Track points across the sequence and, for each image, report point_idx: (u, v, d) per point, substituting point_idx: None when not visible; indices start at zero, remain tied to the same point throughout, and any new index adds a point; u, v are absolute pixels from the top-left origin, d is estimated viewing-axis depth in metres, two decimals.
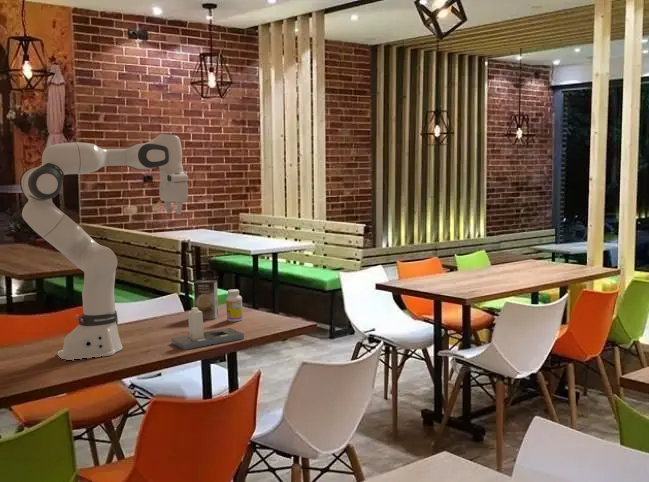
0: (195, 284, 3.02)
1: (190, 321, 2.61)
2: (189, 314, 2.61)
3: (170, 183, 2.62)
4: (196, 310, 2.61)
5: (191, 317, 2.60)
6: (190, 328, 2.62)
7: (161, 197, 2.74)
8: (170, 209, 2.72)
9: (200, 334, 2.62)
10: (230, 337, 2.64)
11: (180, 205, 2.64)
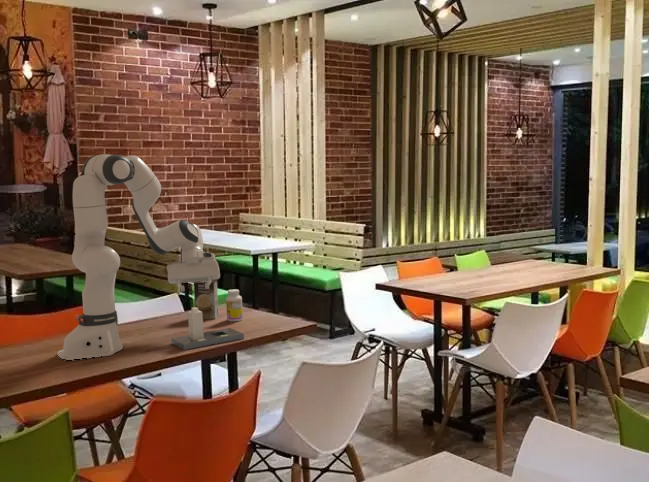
0: (195, 284, 3.02)
1: (190, 321, 2.61)
2: (189, 314, 2.61)
3: (206, 259, 2.78)
4: (196, 310, 2.61)
5: (191, 317, 2.60)
6: (190, 328, 2.62)
7: (174, 276, 2.74)
8: (184, 288, 2.74)
9: (200, 334, 2.62)
10: (230, 337, 2.64)
11: (211, 281, 2.76)
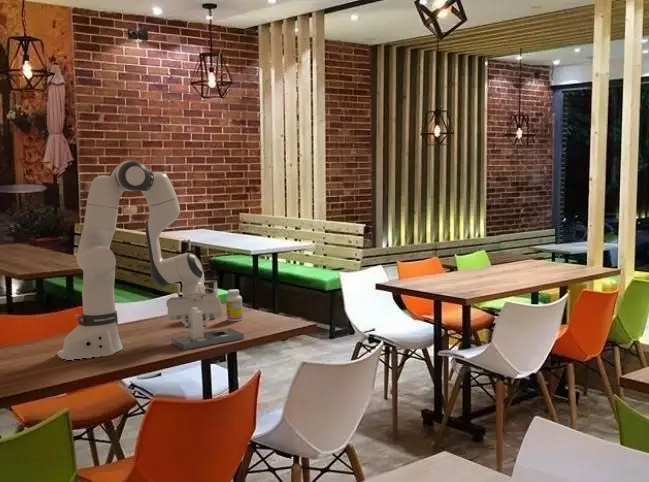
0: None
1: (190, 321, 2.61)
2: (189, 314, 2.61)
3: (208, 295, 2.68)
4: (196, 310, 2.61)
5: (191, 317, 2.60)
6: (190, 328, 2.62)
7: (174, 312, 2.63)
8: (188, 324, 2.62)
9: (200, 334, 2.62)
10: (230, 337, 2.64)
11: (208, 318, 2.65)
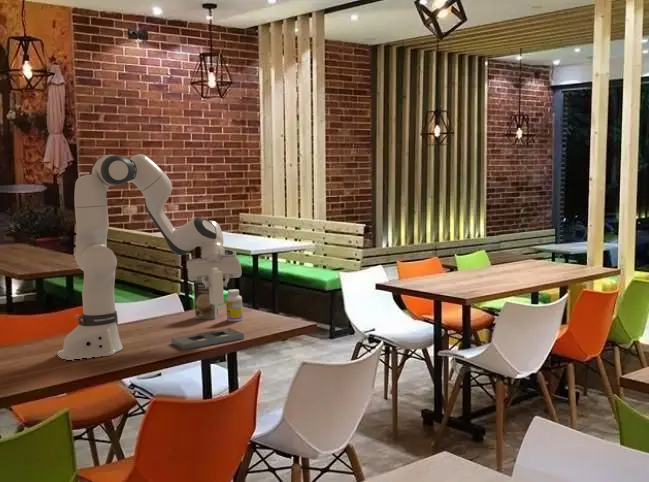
0: (195, 284, 3.02)
1: (210, 281, 2.64)
2: (209, 274, 2.65)
3: (227, 257, 2.71)
4: (216, 270, 2.64)
5: (211, 277, 2.63)
6: (210, 288, 2.65)
7: (194, 272, 2.66)
8: (208, 284, 2.65)
9: (220, 294, 2.65)
10: (230, 337, 2.64)
11: (228, 279, 2.68)
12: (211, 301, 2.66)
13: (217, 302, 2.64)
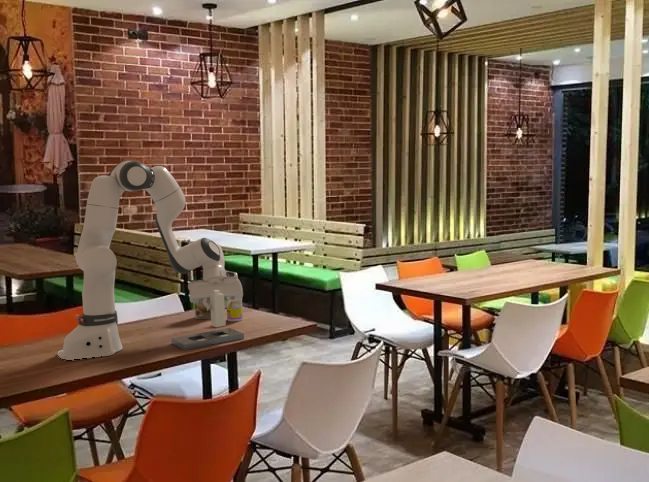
0: None
1: (212, 303, 2.65)
2: (211, 297, 2.66)
3: (229, 279, 2.72)
4: (218, 293, 2.65)
5: (213, 299, 2.64)
6: (212, 310, 2.66)
7: (196, 295, 2.67)
8: None
9: (222, 316, 2.66)
10: (230, 337, 2.64)
11: (230, 301, 2.69)
12: (213, 323, 2.67)
13: (219, 324, 2.65)
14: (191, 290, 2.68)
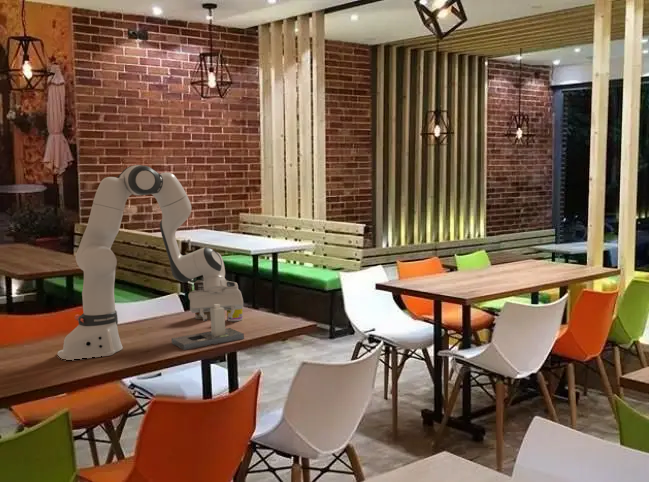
0: (195, 284, 3.02)
1: (212, 317, 2.66)
2: (211, 310, 2.66)
3: (229, 289, 2.72)
4: (218, 306, 2.66)
5: (213, 313, 2.65)
6: (212, 324, 2.67)
7: (196, 304, 2.67)
8: (206, 317, 2.67)
9: (222, 330, 2.66)
10: (230, 337, 2.64)
11: None
12: None
13: None
14: (191, 300, 2.68)
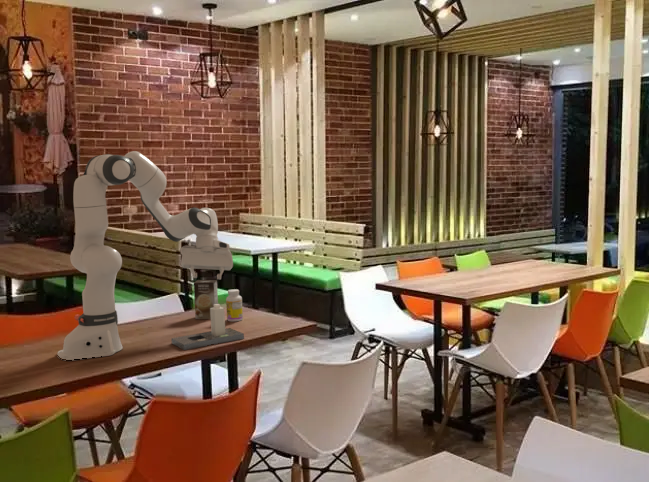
0: (195, 284, 3.02)
1: (212, 317, 2.66)
2: (211, 310, 2.66)
3: (221, 249, 2.81)
4: (218, 306, 2.66)
5: (213, 313, 2.65)
6: (212, 324, 2.67)
7: (188, 261, 2.75)
8: (196, 275, 2.76)
9: (222, 330, 2.66)
10: (230, 337, 2.64)
11: None
12: None
13: None
14: (184, 256, 2.76)
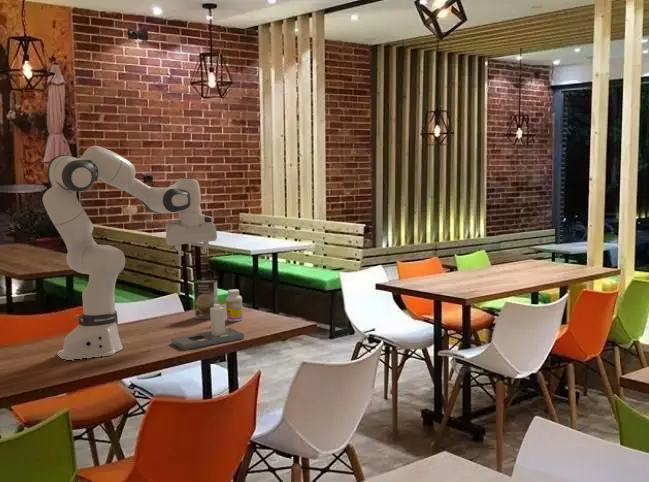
0: (195, 284, 3.02)
1: (212, 317, 2.66)
2: (211, 310, 2.66)
3: (206, 224, 2.76)
4: (218, 306, 2.66)
5: (213, 313, 2.65)
6: (212, 324, 2.67)
7: (175, 241, 2.70)
8: None
9: (222, 330, 2.66)
10: (230, 337, 2.64)
11: None
12: None
13: None
14: (170, 236, 2.69)
